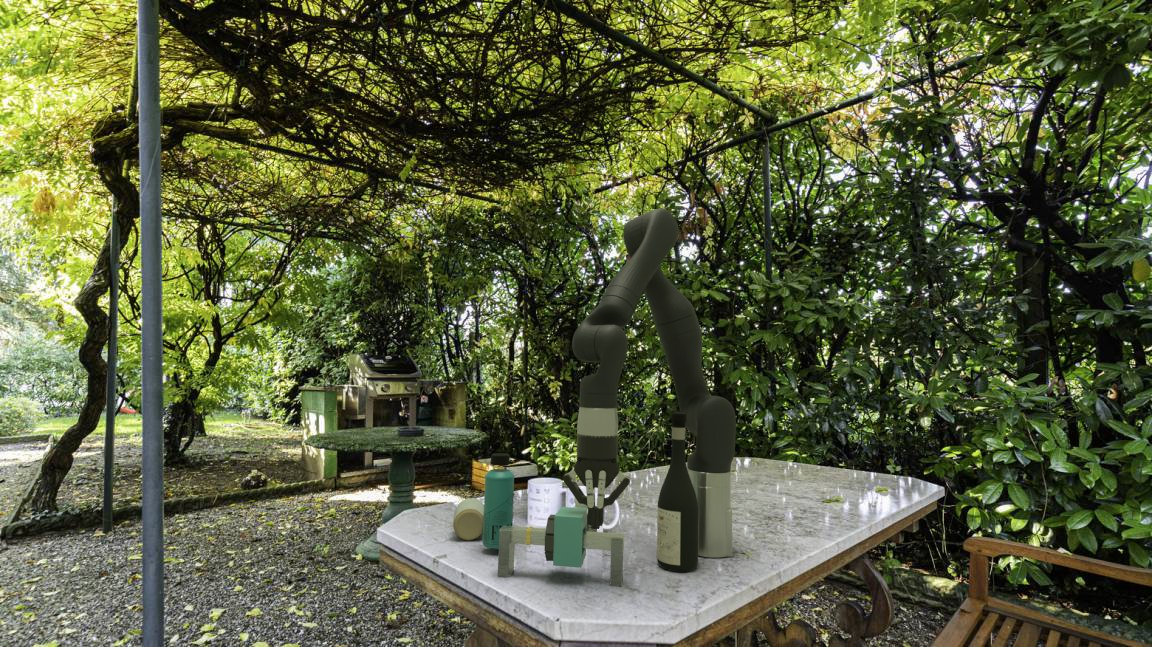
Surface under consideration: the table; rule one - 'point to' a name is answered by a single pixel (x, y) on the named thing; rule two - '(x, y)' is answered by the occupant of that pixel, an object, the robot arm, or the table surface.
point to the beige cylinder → (469, 519)
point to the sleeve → (569, 537)
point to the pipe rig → (537, 537)
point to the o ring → (549, 538)
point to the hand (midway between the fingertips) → (595, 527)
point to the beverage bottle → (497, 500)
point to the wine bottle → (677, 509)
